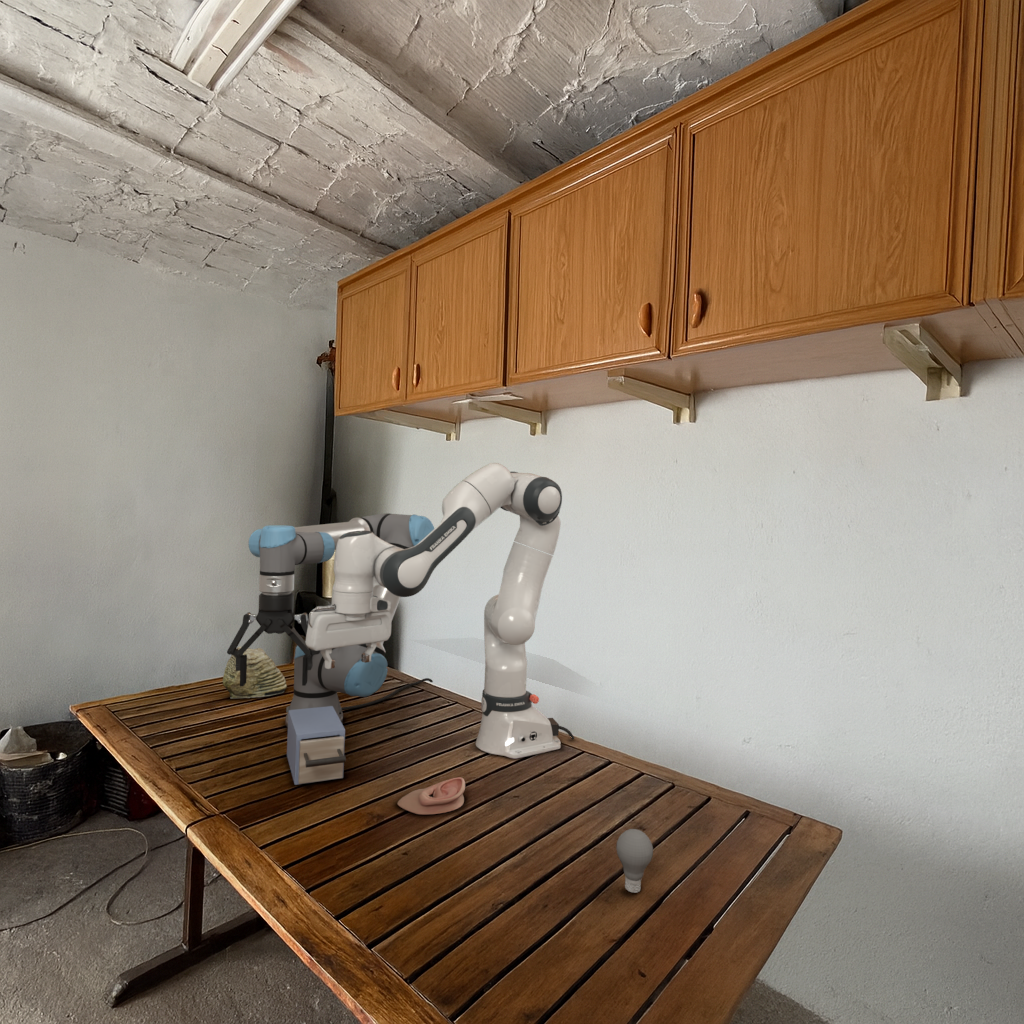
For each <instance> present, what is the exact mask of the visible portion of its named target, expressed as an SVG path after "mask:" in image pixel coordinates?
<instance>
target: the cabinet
mask: <svg viewBox="0 0 1024 1024" xmlns="http://www.w3.org/2000/svg"><path fill="white" fill-rule="evenodd" d="M287 713H288V727H287V735H286V737H287V738H286V758H287V761H288V765H289V768H290V769H289V770H290V773H291V777H292V781H293V784H294V785H295V786H297V785H300V784H299V783H298V774H299V748H300V741H301V739H308V738H317V737H326V736H334V735H337V737H339V736H343V737H344V748H345V747H346V746H345V743H346V742H345V741H346V729H345V726H344V725H343V722H342V723H341V721H340V719H339V717H338V715H337V713H336V711H335V710H334V708H333V706H327V707H317V708H306V709H296V710H288V712H287ZM343 756H345V750H344V751H343ZM344 766H345V762H344V763H343V773H344V772H345V771H344V770H345V767H344ZM340 779H344V775H343V776H342V778H337V779H336V780H340ZM331 780H334V779H330V780H329V781H331ZM326 781H327V780H323V781H322V782H326ZM317 782H318V783H319V782H320V781H316V782H315V783H317ZM305 784H306V783H302V784H301V785H305ZM308 784H313V782H309V783H308Z"/></svg>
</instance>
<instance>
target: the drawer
mask: <svg viewBox="0 0 1024 1024" xmlns="http://www.w3.org/2000/svg"><path fill="white" fill-rule="evenodd" d="M343 751H344V752H345V747H344V737H343V736H339V737H337V735H334V736H326V737H317V738H308V739H301V741H300V748H299V774H298V783H299V784H298V785H303V784H302V783H305V784H310V783H309V782H312V783H317V782H316V781H319V782H324V781H323V780H326V781H331V780H330V779H333V780H338V779H337V778H340V779H343V778H342V776H343V777H344V772H343V763H344V764H345V763H346V762H347V758H346V755H344V756H343Z"/></svg>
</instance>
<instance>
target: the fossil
mask: <svg viewBox="0 0 1024 1024" xmlns="http://www.w3.org/2000/svg"><path fill="white" fill-rule="evenodd" d="M241 647H242V646H237V648H236V649H240V648H241ZM243 655H247V672H246V684H245V685H244V686H240V671H236V657H235V656H234V655H231V656H230V657H229V659H228V660H227V663H226V666H225V668H224V671H223V675H222V676H223V677H222V685H223V687H224V688H225V690H226V691H228V693H229V698H230V699H250V698H264V697H271V696H275V695H281V694H284V693H285V691H286V689H287V687H288V686H287V680H286V678H285V676H284V674H283V673H282V672H281V669H279V668H278V667H277V665H276V663H275V662H274V660H273V659H272V658H271V657H270V656H269V655H268V654H267V653H266V652H265V650H264V649H263V648H260V647H258V648H251V647H249V648H248V649H247V650H246V651H245V652H244V653H243Z"/></svg>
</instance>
